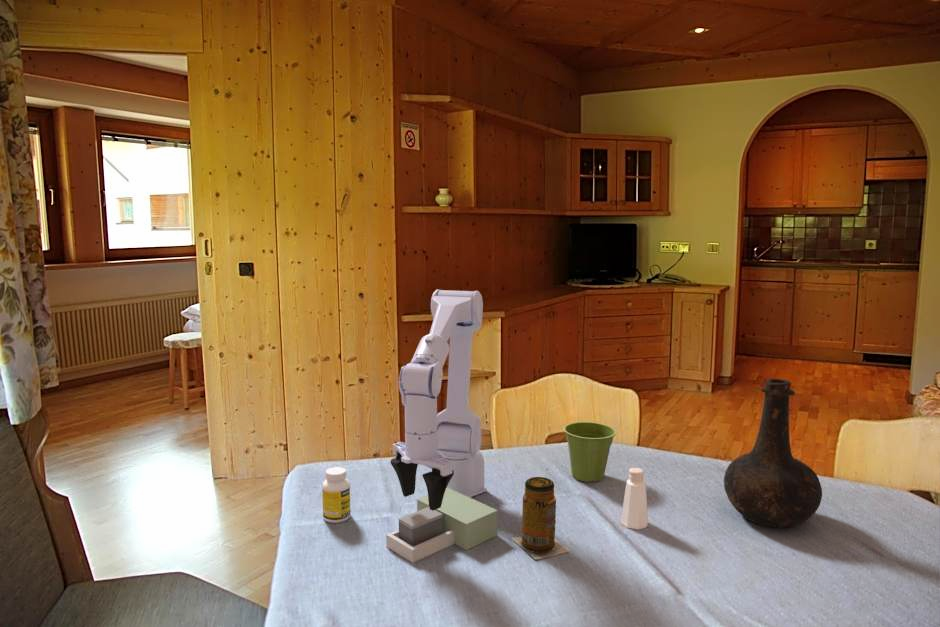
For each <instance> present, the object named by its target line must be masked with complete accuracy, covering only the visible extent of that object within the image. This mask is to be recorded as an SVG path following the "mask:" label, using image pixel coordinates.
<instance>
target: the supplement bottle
mask: <svg viewBox="0 0 940 627" xmlns="http://www.w3.org/2000/svg"><path fill="white" fill-rule="evenodd" d="M321 487H322V488H321V490H322V491H321V492H322V493H321V494H322V495H321V496H322V517H323V520H324V521H325V522H328V523H332V524H336V523H343V522H346V521H347V520H348V519H349V518H350V517H351V483H350V481H349V479H347V468H345V467H341V466H335V467H330V468H328V469H326V470H325V480H324V481H323V483H322V485H321Z"/></svg>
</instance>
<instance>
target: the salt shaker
mask: <svg viewBox="0 0 940 627" xmlns="http://www.w3.org/2000/svg"><path fill="white" fill-rule="evenodd" d="M628 472H629V477H628V478H629V479H627V480H626V484H625V490H624V496H623V504H622V510H621V517H620V524H621V525H622V526H624V527H626V528H627V529H632V530H643V529H646V528H648V524H649V516H648V515H649V514H648V503H647V502H648V500H647V499H648V498H647V484H646V482H645V481H644V474H645V470H644V469H642V468H639V467H631V468H630V469H629V470H628Z"/></svg>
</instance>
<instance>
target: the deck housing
mask: <svg viewBox="0 0 940 627" xmlns="http://www.w3.org/2000/svg"><path fill="white" fill-rule="evenodd" d="M416 507H417V508H416V512H417V511H419V510H422V509H424V508H427V507H429V501H428V494H427V495H425V496H422V497H419V498H417V499H416ZM436 511H438V512H440V513H442V514H443V534H441V535H439V536H436V537H434V538H432V539H430V540H427V541H425V542H423V543H421V544H418V545H416V546H414V547H413V546H411V545H409V544H408V543H406V542H404V541H402V540H401V539H399V528H398V529H395V530H394V531H391V532H389V533H386V535H385V537H386V548H388V549H389V550H391V551H392V552H394V553H395V554H398V555H399V556H401V557H402V558H404V559H406V560H407V561H409V562H410V563H412V564H413V563H415V562H418V561H420V560H422V559H424V558H426V557H428V556H431V555H433V554H436V553H437V552H440V551H442V550H444V549H446V548H448V547H450V546H453V545H456V546H459V547H460V548H462V549H464V551H465V550H466V551H468V550H470V549H472V548H473V547H475V546H477V545H480V544H482V543H485V542H486V541H488V540H490V539H492V538H495V537H496V536H498V509H496V508H493V507H492V506H489V505H487V504H484V503H482V502H480V501H478V500H476V499H474V498H473V497H471V498H470V497H467V496H465V495H463V494H461V493H459V492H457V491H454V490H452V489H450V488H446V490H445V493H444V497H443V500H442V505H441V508H438V509H436Z"/></svg>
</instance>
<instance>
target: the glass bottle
mask: <svg viewBox="0 0 940 627" xmlns="http://www.w3.org/2000/svg"><path fill="white" fill-rule="evenodd" d="M791 385H792V382H791V381H789V380H786V379H779V378H769V379H766V380H765V386H764V387H761V388H760V389H759V390H760V392H762V393H764V401H763V408H762V412H761V413H762V414H761V419H760V423H759V424H760V425H759V429H758V433H757V436H756V439H755V443H754V446H753V447H752V449H751V450H750V452H748V453H744V454H742V455H740V456H738V457H736V458H735V459H733V460H732V461H731V462H730V463H729V464H728V466H727V467H726V470H725V473H724V476H723V487H724V491H725V494H726V496H727V498H728V501H729V502H730V504H731V505H732V507H733V508H735V509H736V511H737V512H738V513H739V514H740V515H741V516H743V517H745V519H748V520H750V521H751V522H754V523H756V524H758V525H762V526H766V527H771V528H790V527H791V528H792V527H796V526H799V525H801V524H803V523H805V522H806V521H808V520H809V519H810V518H812V516H813V515H815V513H816V512H817V510H818V509H819V507H820V505H821V502H822V498H823V489H822V488H823V487H822V485H821V481H820V479H819V477H818V475H817V473H816V472H815V471H814V470H813V469H812V468H811V467H810V466H809V465H807V464H806V463H804V462H803V461H801V460H800V459H797V458H795V457H793V453H792V450H791V443H790V441H791V440H790V397H791V396H794V395H795V390H793V389H791Z"/></svg>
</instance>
